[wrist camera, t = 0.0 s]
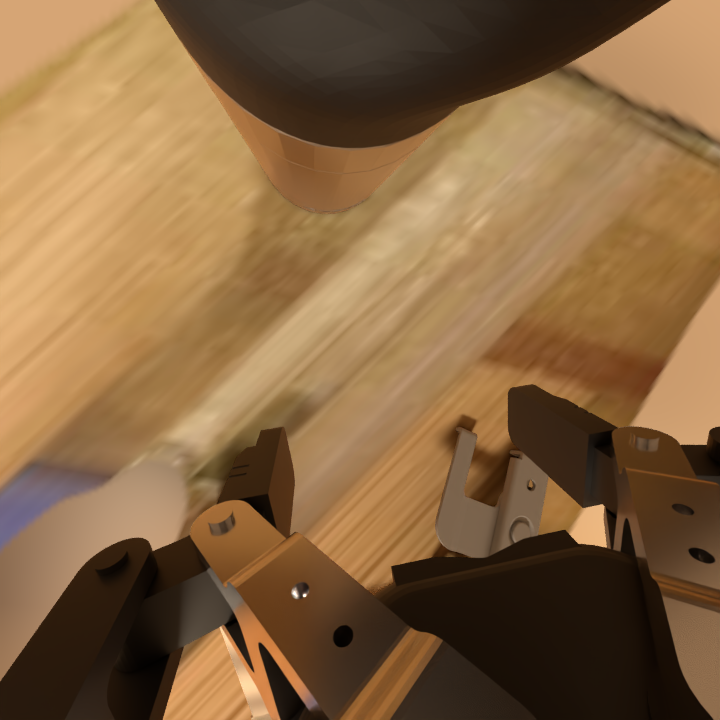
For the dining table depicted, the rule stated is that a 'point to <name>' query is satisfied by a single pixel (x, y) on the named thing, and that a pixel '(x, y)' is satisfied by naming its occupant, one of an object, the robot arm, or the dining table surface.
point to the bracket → (480, 521)
